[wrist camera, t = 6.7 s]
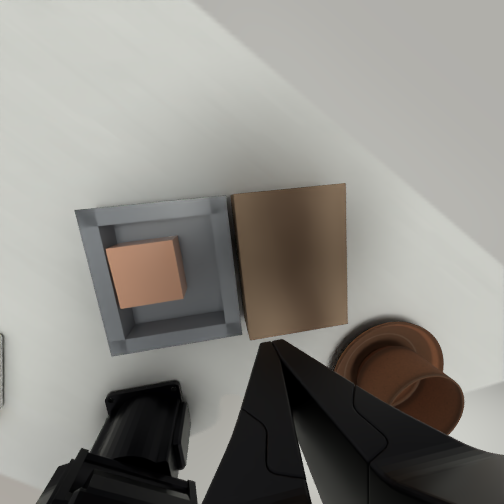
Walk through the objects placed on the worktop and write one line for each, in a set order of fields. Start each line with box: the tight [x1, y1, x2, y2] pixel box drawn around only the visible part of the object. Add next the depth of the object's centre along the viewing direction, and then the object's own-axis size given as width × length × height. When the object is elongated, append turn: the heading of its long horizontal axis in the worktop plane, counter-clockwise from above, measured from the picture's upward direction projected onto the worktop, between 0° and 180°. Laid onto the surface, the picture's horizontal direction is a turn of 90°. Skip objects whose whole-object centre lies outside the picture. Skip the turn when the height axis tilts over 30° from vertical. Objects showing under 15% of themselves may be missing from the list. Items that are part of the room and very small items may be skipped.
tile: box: [106, 235, 187, 309], centre depth 19 cm, size 4×4×2 cm
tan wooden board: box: [230, 183, 348, 340], centre depth 20 cm, size 8×11×4 cm
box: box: [75, 195, 242, 356], centre depth 19 cm, size 10×11×3 cm
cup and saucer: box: [334, 322, 464, 435], centre depth 23 cm, size 12×12×6 cm
